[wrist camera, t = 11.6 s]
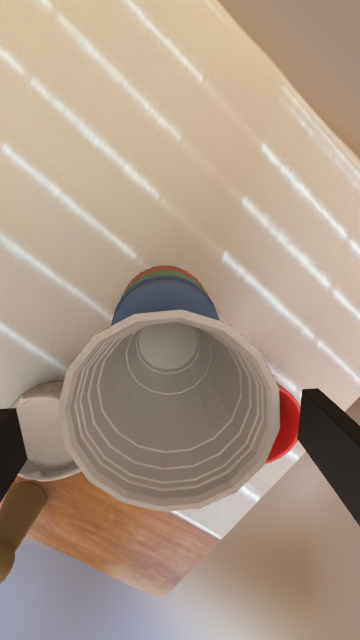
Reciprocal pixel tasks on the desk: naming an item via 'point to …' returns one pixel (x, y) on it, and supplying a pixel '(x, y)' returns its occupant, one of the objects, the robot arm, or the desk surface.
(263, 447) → the plastic cup
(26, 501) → the wooden peg doll
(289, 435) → the flower pot
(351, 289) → the desk surface
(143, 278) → the cup stack
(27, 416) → the dish
